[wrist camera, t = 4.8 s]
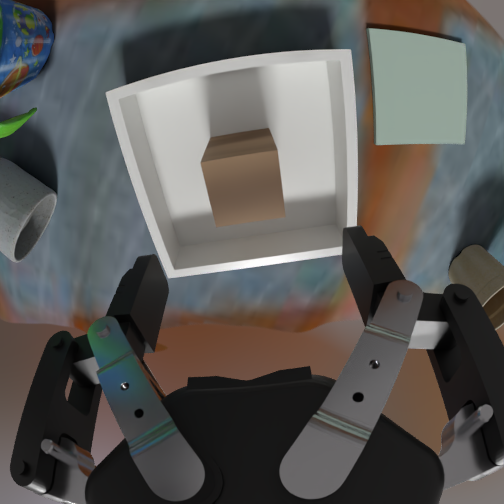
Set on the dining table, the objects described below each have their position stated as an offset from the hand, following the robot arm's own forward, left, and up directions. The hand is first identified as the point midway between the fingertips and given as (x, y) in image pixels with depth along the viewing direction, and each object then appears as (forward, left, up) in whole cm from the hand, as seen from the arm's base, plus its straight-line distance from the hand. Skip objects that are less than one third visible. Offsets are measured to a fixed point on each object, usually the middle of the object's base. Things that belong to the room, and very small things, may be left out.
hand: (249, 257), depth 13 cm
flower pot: (+16, +26, -13) cm, 33 cm away
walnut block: (0, 0, -13) cm, 13 cm away
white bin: (0, 0, -13) cm, 13 cm away
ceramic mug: (-1, -23, -14) cm, 27 cm away
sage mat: (-5, +16, -13) cm, 21 cm away
